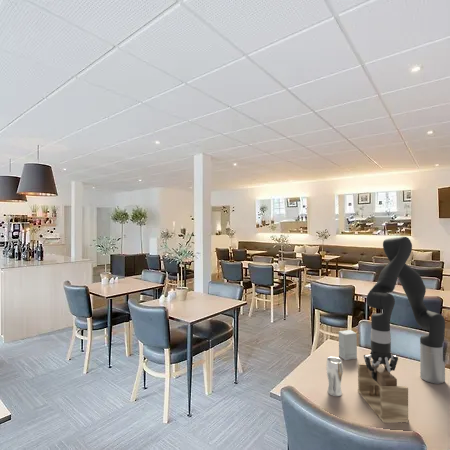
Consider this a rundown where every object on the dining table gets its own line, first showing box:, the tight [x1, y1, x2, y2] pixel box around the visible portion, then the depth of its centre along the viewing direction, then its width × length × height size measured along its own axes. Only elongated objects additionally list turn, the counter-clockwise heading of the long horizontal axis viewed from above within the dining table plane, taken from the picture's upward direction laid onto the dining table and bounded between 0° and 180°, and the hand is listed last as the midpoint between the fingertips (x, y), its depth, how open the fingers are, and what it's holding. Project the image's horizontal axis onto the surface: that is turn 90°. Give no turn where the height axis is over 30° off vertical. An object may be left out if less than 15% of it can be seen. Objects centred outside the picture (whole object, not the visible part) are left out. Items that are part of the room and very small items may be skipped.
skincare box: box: [338, 329, 358, 361], centre depth 173 cm, size 8×6×15 cm
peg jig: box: [357, 362, 410, 424], centre depth 127 cm, size 22×10×13 cm, turn 0°
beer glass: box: [326, 356, 344, 397], centre depth 137 cm, size 7×7×15 cm
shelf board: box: [367, 360, 398, 386], centre depth 127 cm, size 16×4×5 cm, turn 0°
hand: (380, 379), depth 127 cm, fingers closed on shelf board, 4 cm apart
